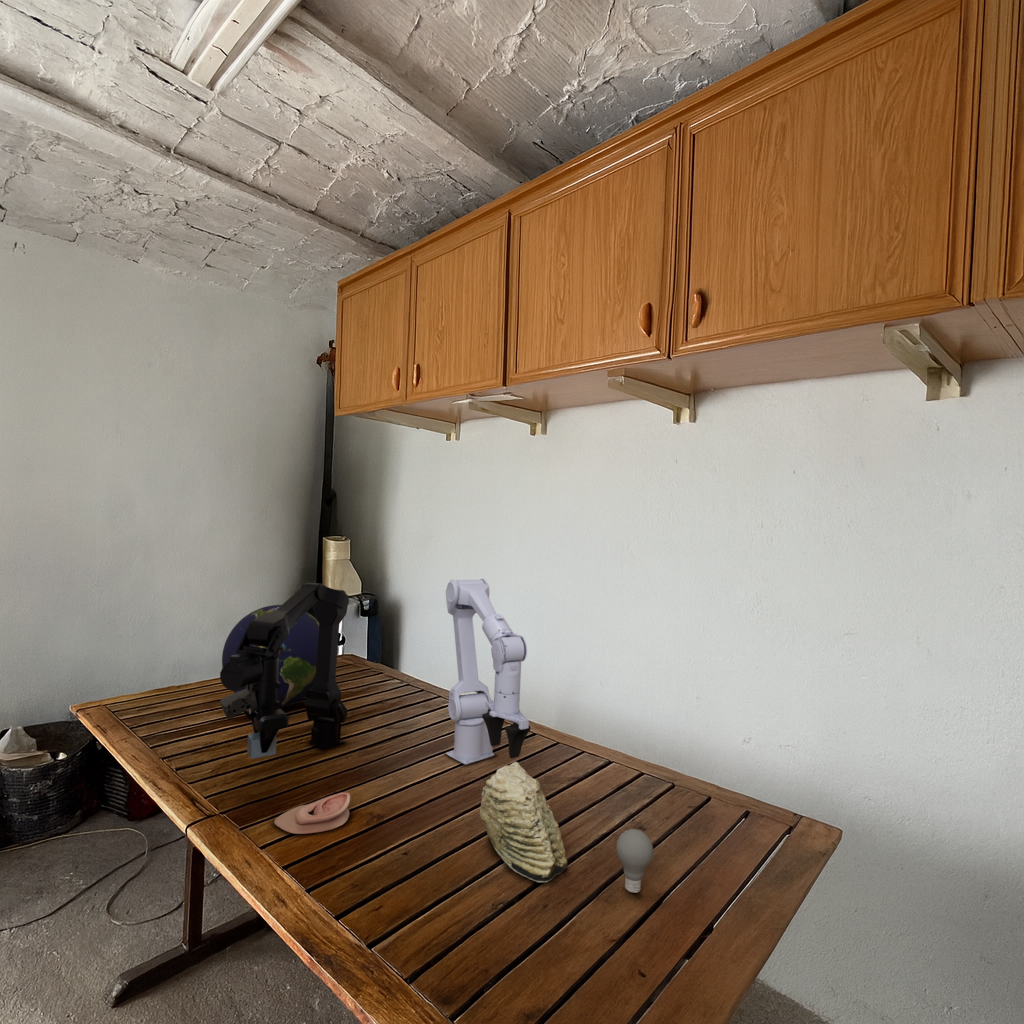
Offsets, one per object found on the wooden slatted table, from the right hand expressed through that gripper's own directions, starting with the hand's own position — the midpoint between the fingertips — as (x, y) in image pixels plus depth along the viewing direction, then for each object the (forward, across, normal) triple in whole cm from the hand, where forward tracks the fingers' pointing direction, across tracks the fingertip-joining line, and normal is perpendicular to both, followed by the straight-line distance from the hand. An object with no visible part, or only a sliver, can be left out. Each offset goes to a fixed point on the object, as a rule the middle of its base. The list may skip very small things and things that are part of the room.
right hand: (504, 751), depth 141 cm
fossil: (+8, +24, -12) cm, 28 cm away
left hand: (0, -27, -46) cm, 53 cm away
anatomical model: (+8, -7, -40) cm, 42 cm away
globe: (+8, -77, -30) cm, 83 cm away
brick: (+2, -27, -46) cm, 53 cm away
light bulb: (+8, +42, -2) cm, 43 cm away
